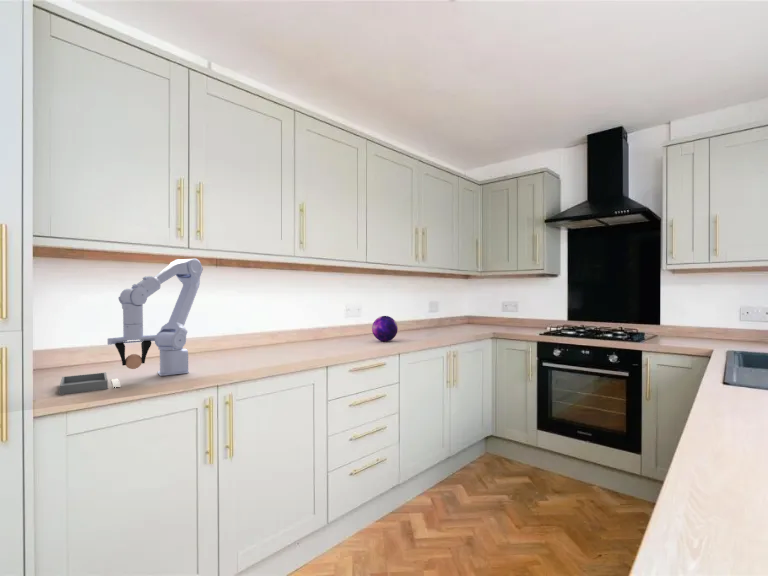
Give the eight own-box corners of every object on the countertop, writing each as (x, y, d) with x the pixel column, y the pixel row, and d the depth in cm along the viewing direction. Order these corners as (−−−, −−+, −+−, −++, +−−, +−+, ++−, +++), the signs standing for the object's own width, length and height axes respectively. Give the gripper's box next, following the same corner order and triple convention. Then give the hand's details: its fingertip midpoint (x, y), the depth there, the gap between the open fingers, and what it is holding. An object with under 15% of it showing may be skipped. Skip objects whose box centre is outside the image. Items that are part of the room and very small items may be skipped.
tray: (106, 379, 144) (105, 372, 144) (107, 388, 131) (107, 380, 131) (62, 384, 137) (62, 376, 137) (59, 394, 124) (59, 385, 124)
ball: (141, 366, 145) (141, 352, 145) (142, 369, 140) (142, 354, 140) (124, 368, 142) (124, 353, 142) (125, 370, 138) (125, 355, 138)
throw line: (118, 378, 146) (118, 378, 146) (120, 387, 133) (120, 387, 133) (111, 379, 145) (111, 379, 145) (113, 388, 132) (113, 388, 132)
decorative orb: (371, 340, 251) (371, 315, 252) (396, 339, 252) (396, 314, 252) (372, 343, 237) (372, 316, 237) (398, 342, 237) (398, 316, 237)
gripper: (155, 321, 149) (155, 359, 149) (106, 324, 140) (106, 364, 140) (158, 323, 143) (159, 362, 143) (108, 325, 134) (108, 368, 134)
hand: (133, 364), depth 141 cm, fingers closed on ball, 5 cm apart
